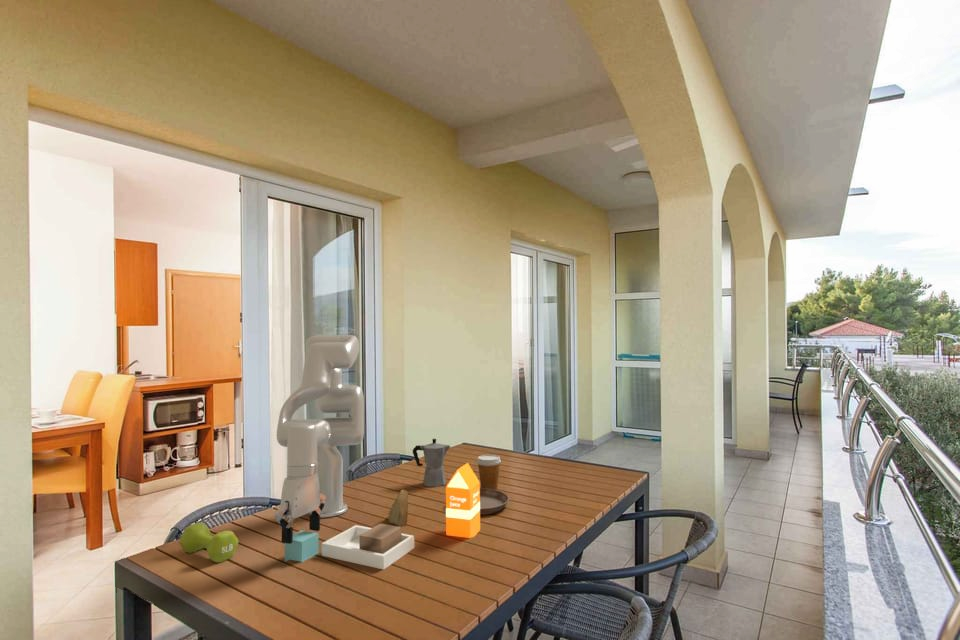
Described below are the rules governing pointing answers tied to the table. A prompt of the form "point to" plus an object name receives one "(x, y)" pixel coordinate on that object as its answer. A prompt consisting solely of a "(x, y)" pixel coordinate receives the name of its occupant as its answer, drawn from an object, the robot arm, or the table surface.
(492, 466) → the disposable coffee cup
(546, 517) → the table surface
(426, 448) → the coffeepot
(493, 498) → the plant saucer
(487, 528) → the table surface
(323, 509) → the robot arm
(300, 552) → the teal box
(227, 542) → the dumbbell
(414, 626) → the table surface
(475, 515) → the orange juice
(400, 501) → the rock
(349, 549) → the white tray
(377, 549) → the walnut block
